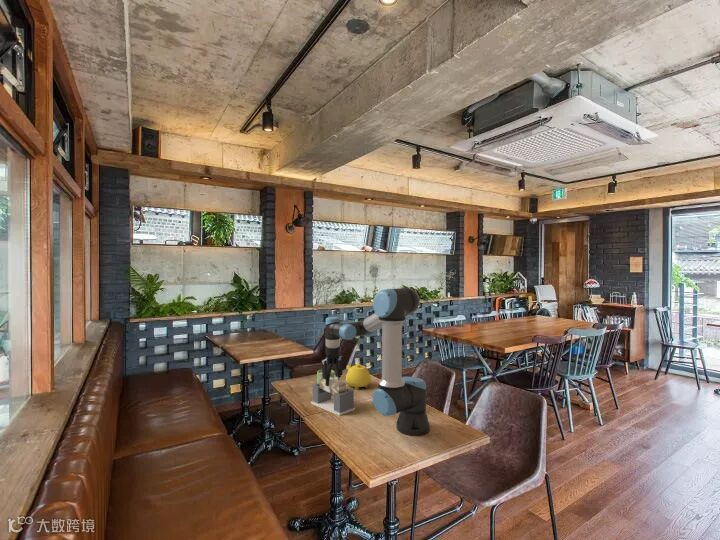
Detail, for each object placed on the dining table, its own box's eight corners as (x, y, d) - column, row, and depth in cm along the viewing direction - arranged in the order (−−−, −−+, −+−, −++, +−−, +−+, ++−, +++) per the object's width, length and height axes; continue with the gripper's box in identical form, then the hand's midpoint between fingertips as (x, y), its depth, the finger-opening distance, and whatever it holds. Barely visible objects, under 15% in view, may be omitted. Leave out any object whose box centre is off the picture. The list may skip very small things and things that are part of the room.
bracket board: (355, 409, 195) (355, 390, 195) (339, 415, 187) (339, 395, 187) (326, 398, 212) (326, 380, 211) (310, 403, 204) (310, 385, 204)
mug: (328, 396, 215) (328, 375, 215) (313, 393, 220) (313, 372, 220) (340, 389, 226) (340, 369, 225) (326, 386, 231) (326, 367, 231)
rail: (345, 394, 195) (345, 383, 194) (338, 396, 192) (338, 385, 191) (326, 386, 207) (326, 375, 207) (319, 387, 205) (319, 376, 204)
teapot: (337, 383, 238) (337, 361, 238) (357, 379, 247) (357, 358, 246) (354, 392, 221) (354, 369, 221) (375, 387, 230) (376, 365, 230)
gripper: (340, 342, 208) (340, 385, 208) (314, 348, 195) (314, 392, 196) (349, 345, 202) (349, 388, 203) (324, 350, 190) (324, 396, 190)
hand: (332, 390), depth 199 cm, fingers closed on rail, 5 cm apart
